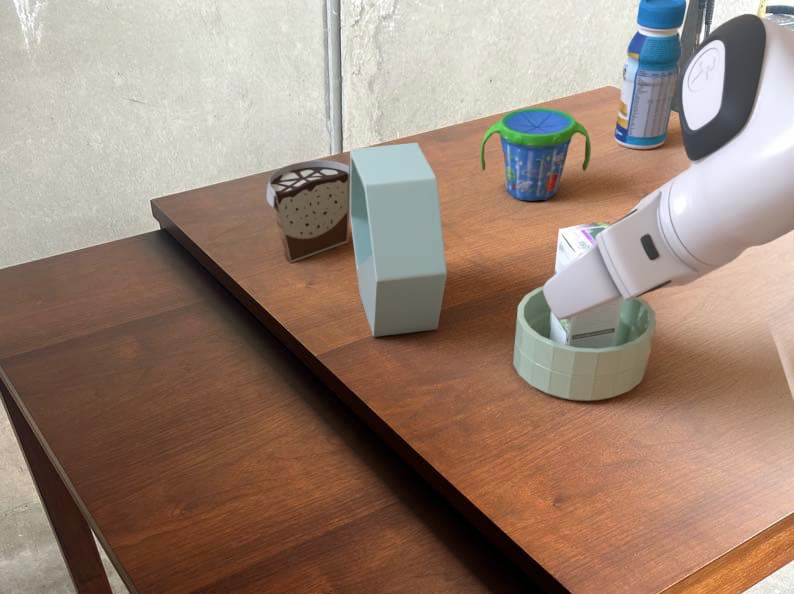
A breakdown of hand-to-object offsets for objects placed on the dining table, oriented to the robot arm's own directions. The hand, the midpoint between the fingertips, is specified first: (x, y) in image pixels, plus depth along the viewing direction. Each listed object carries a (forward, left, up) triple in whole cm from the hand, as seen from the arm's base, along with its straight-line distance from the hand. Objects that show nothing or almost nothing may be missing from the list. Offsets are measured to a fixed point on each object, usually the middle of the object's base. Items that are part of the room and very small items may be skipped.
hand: (582, 290), depth 90 cm
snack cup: (+5, -45, -9) cm, 46 cm away
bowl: (-1, 0, -9) cm, 9 cm away
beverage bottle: (-12, -66, -9) cm, 67 cm away
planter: (+21, -10, -9) cm, 25 cm away
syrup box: (-1, 0, -9) cm, 9 cm away
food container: (+35, -26, -9) cm, 45 cm away
